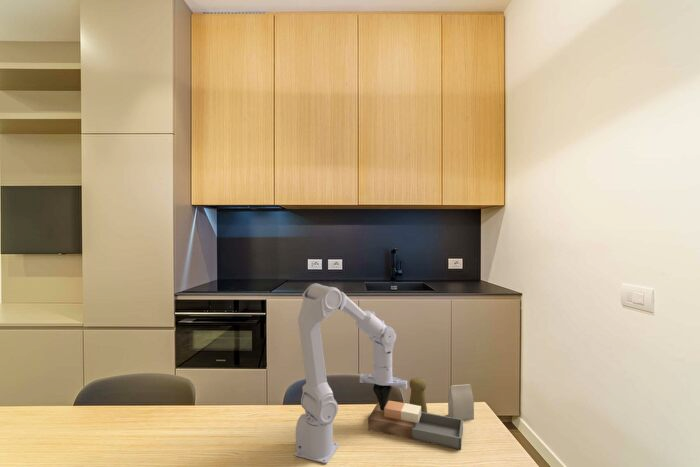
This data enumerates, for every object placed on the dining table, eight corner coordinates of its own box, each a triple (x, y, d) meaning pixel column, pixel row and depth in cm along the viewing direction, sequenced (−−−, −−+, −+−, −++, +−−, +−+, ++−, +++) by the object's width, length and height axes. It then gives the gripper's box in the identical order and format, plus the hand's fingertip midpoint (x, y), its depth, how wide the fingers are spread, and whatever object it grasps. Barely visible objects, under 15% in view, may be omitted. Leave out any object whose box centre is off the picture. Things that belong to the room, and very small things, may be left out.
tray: (412, 439, 96) (412, 428, 96) (418, 421, 105) (418, 411, 105) (460, 449, 91) (460, 438, 91) (463, 429, 100) (462, 419, 100)
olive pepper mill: (427, 419, 106) (427, 383, 106) (408, 417, 107) (407, 382, 107) (427, 409, 112) (427, 375, 112) (408, 407, 113) (408, 374, 113)
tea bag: (473, 419, 106) (473, 387, 106) (453, 421, 105) (453, 388, 105) (468, 413, 109) (467, 381, 109) (448, 414, 108) (447, 383, 108)
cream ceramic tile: (401, 419, 99) (400, 411, 99) (404, 411, 104) (404, 403, 104) (418, 423, 97) (418, 414, 97) (421, 414, 102) (421, 406, 102)
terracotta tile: (384, 416, 101) (384, 408, 101) (388, 408, 106) (388, 400, 106) (401, 419, 99) (400, 411, 99) (404, 411, 104) (404, 403, 104)
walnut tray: (368, 430, 100) (368, 418, 100) (378, 413, 110) (377, 402, 110) (412, 439, 96) (412, 426, 96) (418, 421, 105) (418, 409, 105)
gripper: (409, 362, 105) (409, 406, 105) (364, 356, 110) (364, 398, 110) (404, 371, 98) (404, 418, 98) (357, 364, 104) (357, 409, 104)
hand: (383, 408), depth 104 cm, fingers closed
